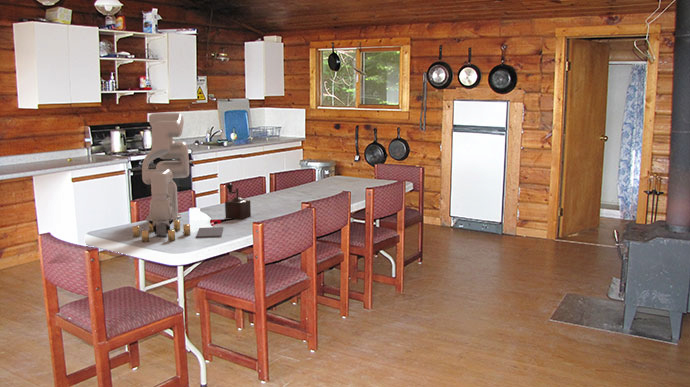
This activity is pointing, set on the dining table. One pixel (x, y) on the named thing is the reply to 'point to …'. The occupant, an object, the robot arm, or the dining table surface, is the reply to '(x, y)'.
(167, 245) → the dining table surface
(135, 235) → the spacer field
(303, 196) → the dining table surface
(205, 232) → the mat
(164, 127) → the robot arm
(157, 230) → the dark grey block
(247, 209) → the dark brown coffee grinder
